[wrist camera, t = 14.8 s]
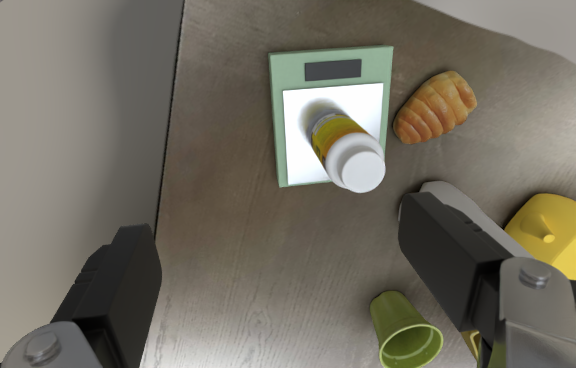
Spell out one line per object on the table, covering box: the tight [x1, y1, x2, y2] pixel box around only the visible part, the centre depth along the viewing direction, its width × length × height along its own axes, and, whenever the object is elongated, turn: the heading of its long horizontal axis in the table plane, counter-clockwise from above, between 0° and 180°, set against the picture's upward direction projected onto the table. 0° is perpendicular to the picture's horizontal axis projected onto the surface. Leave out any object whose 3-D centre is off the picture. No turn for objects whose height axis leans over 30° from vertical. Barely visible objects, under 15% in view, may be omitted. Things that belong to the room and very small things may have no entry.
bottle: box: [398, 181, 537, 260], centre depth 35 cm, size 9×9×30 cm
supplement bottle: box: [310, 113, 385, 193], centre depth 34 cm, size 6×6×10 cm
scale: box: [268, 45, 393, 187], centre depth 40 cm, size 15×13×3 cm
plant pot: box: [370, 291, 443, 368], centre depth 52 cm, size 9×9×9 cm
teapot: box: [504, 193, 576, 280], centre depth 48 cm, size 14×13×10 cm
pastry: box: [393, 71, 477, 144], centre depth 41 cm, size 9×7×4 cm
